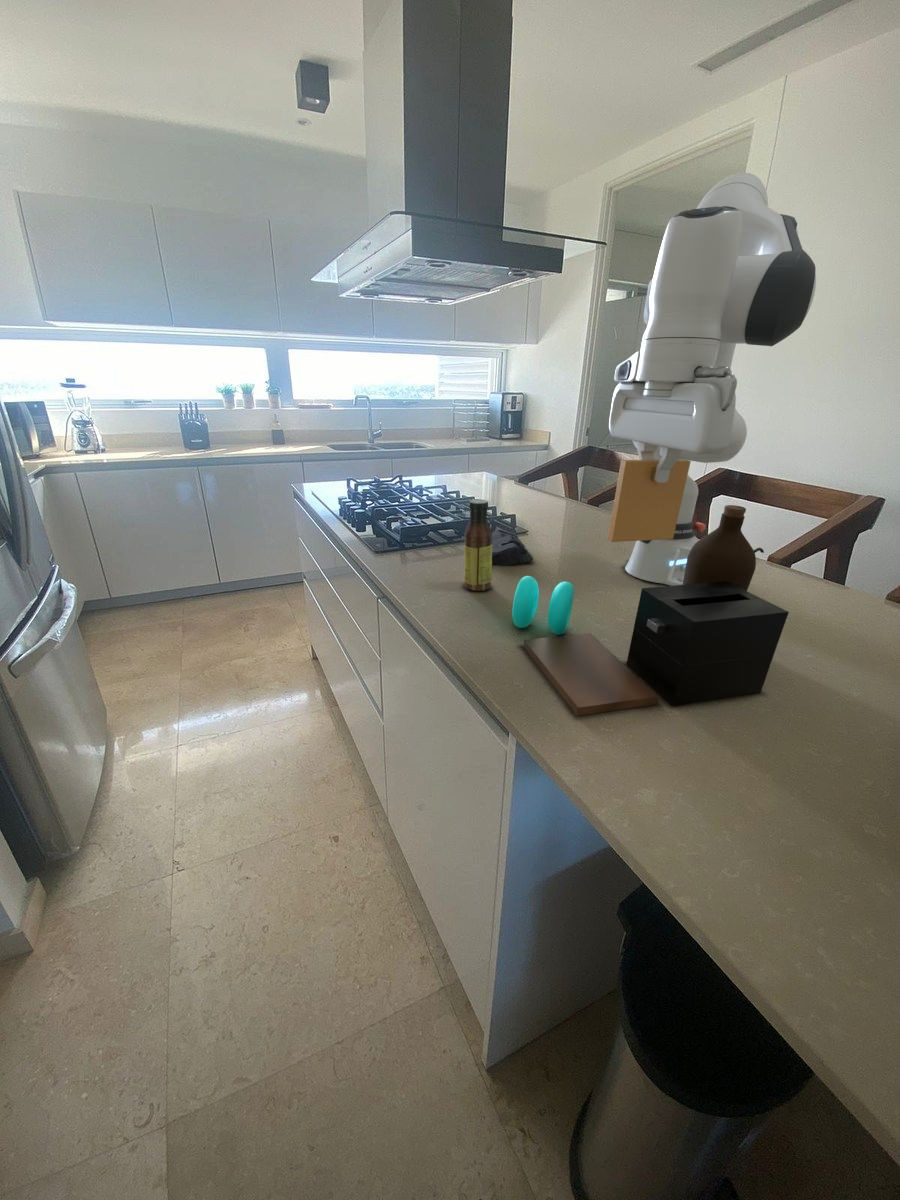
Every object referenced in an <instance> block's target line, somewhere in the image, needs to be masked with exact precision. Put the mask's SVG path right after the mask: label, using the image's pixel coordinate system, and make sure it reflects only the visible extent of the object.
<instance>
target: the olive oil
mask: <svg viewBox="0 0 900 1200" xmlns="http://www.w3.org/2000/svg"><path fill="white" fill-rule="evenodd" d="M746 512H747V508H746V507H744V506H742V505H735V504H727V505H725V506H724V509H723V513H721V516H720V520H719V524H718V527H717V528H716V529H714V530H713V531H711V532H710V533H708V534H705V536H703V537H702V538H700V539H698V540H699V541H698V542H696V543H695V544H694V546H693V547H692V549H691V550H690V552H689V554H688V557H687V562H686V568H685V573H684V579H683V585H686V584H698V583H710V582H722V581H727V582H729V583H731V584H733V585H735V586H737V587H739V588H741V589H743V590H745V591H747V592H748V590H749V587H750V584H751V582H752V579H753V576H754V574H755V572H756V567H757V558H756V557H757V556H756V553H755V552H754V550H755V549H754V548H753V547H752V546H751V544H750V542H749V541H748V540H747V538H746V536H745V535H744V533H743V531H742V527H743V524H744V521H745V513H746Z"/></svg>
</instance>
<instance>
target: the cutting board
mask: <svg viewBox="0 0 900 1200" xmlns="http://www.w3.org/2000/svg"><path fill="white" fill-rule="evenodd" d="M523 649H524V650H525V651H526V652H527V654H528V655H529V657H530V658H531V659H532V660H533V662H535V664H536V665H537V667H539V669H540V670H541V672H542V673H543V675H545V677H546V678H547V680H548V681H549V682H550V683H551V685H552V686H553V687H554V689H555V690H556V691H557V692H558V693H559V695H560V696H561V698H562V699H563V700H564V701H565V702H566V704H567V705H568V707H570V709H571V711H572V712H574V714H575V715H576V717H579V716H580V717H581V716H586V715H593V714H600V713H606V712H613V711H619V710H620V711H621V710H625V709H626V710H628V709H633V708H640V707H646V706H653V705H657V704H658V703H657V702H658V698H659V694H658V693H656V692H655V691H654V690H652V688H651V687H650V686H649V685H648V684H647V683H646V682H645V681H644V680H643V681H642V679H640V677H639V676H638V675H637V674H636V673H635V672H634V671H633V670H632V669H631V668H629V667H627V666H626V664H624V662H622V661H621V660H620V659H619V658H618V657H616V655H615V654H614V653H612V651H610V650H609V649H608V647H606V646H605V644H603V643H601V641H599V640H598V639H597V638H596V637H595V635H593V634H592V633H591V632H586V633H585V632H584V633H575V634H567V635H558V636H548V637H539V638H538V637H537V638H529V639H524V640H523Z"/></svg>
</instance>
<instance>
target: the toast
mask: <svg viewBox="0 0 900 1200" xmlns="http://www.w3.org/2000/svg"><path fill="white" fill-rule="evenodd" d="M659 461H660V460H639V459H621V460H620V465H619V472H618V477H617V483H616V488H615V494H614V500H613V507H612V511H611V518H610V524H609V530H608V535H607V540H608V541H610V542H611V543H620V542H621V543H622V542H636V541H642V540H662V539H673V537H674V532H675V528H676V524H677V519H678V515H679V510H680V506H681V502H682V497H683V493H684V488H685V484H686V480H687V475H689V470H690V467H691V462H692V461H690V460H677V462H676V463H675V465H674V466H673V467H672V469H670V474H669V479H668V481H667V482H666V483H658V482H654V481H652V480H651V479H650V477H651V475H652V474H651V472H652V468H653V467H657V465H658V463H659Z"/></svg>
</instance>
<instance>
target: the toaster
mask: <svg viewBox="0 0 900 1200" xmlns="http://www.w3.org/2000/svg"><path fill="white" fill-rule="evenodd" d="M789 613H790V611H788V610H786V609H784V608H781V607H780V606H778V605H776V604H774V603H771V602H769V601H767V600H766V599H764V598H761V597H760V596H757V595H755V594H753V593H751V592H750V591H748V590H747V591H745V590H743V589H741V588H739V587H737V586H735V585H733V584H731V583H729V582H727V581H722V582H710V583H698V584H686V585H674V586H671V585H663V586H652V587H641V592H640V596H639V600H638V605H637V610H636V614H635V619H634V620H635V621H634V625H633V630H632V635H631V640H630V644H629V649H628V655H627V659H626V663H625V665H627V666H628V668H629V669H630V670H631V671H632V672H633V673H635V674H636V675H637V676H638V677H639V678H641V680H643V682H644V683H645V684H646V685H648V686H649V687H650V688H651V689H653V691H654V692H655V693H656V694H657V695H658V696H660V697H662V699H664V701H666V702H667V703H668V704H669V705H670V706H671V707H676V706H678V707H679V706H683V705H689V704H697V703H704V702H709V701H710V702H711V701H715V700H716V701H717V700H723V699H728V698H729V699H730V698H736V697H742V696H749V695H755V694H761V693H762V690H763V687H764V684H765V681H766V678H767V675H768V673H769V670H770V667H771V664H772V661H773V658H774V656H775V653H776V650H777V647H778V644H779V641H780V638H781V636H782V633H783V630H784V627H785V625H786V622H787V619H788V615H789Z"/></svg>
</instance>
